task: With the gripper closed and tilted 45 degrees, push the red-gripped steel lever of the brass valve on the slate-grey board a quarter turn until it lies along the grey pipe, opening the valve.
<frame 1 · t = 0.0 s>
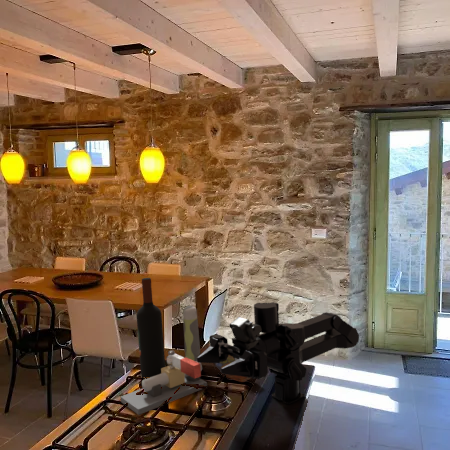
hand: (209, 365, 108), 17 cm above the countertop, tool horizontal, fingers open, 9 cm apart
lever: (182, 363, 128), point 10 cm above the countertop, hinge at 0.0°
tin: (234, 377, 140), on the countertop
wine bottle: (153, 374, 146), on the countertop
valve: (174, 390, 133), on the countertop
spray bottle: (193, 369, 148), on the countertop
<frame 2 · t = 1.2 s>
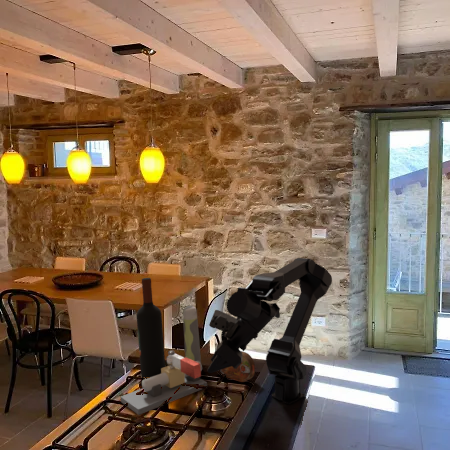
hand: (210, 366, 117), 13 cm above the countertop, tool tilted 45°, fingers open, 6 cm apart
nothing on the countertop moved.
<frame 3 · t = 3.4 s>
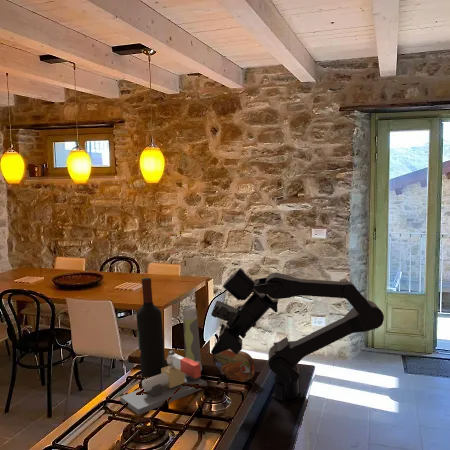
hand: (212, 353, 126), 13 cm above the countertop, tool tilted 45°, fingers closed
nothing on the countertop moved.
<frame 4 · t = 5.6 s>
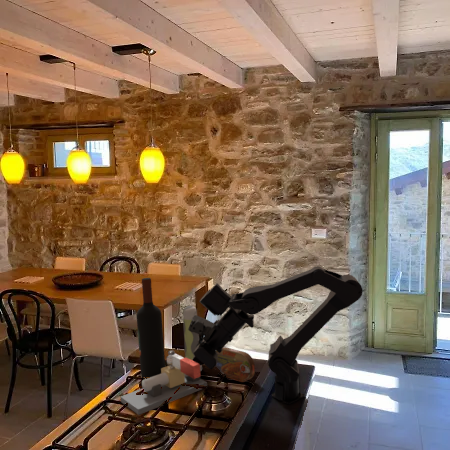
hand: (189, 367, 128), 9 cm above the countertop, tool tilted 45°, fingers closed
lever: (182, 363, 128), point 10 cm above the countertop, hinge at 0.7°, touching gripper
everything else where it was.
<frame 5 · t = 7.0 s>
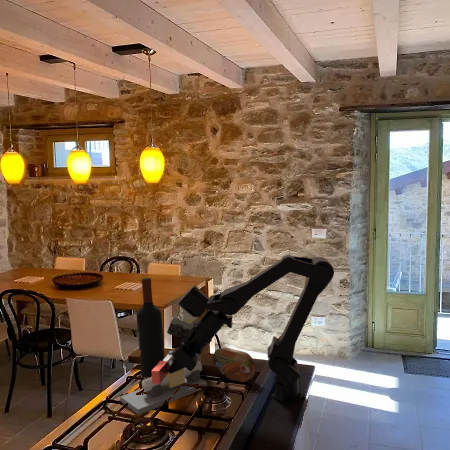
hand: (170, 370, 127), 8 cm above the countertop, tool tilted 45°, fingers closed on lever, 2 cm apart
lever: (164, 365, 127), point 10 cm above the countertop, hinge at 51.9°, touching gripper
everything else where it was.
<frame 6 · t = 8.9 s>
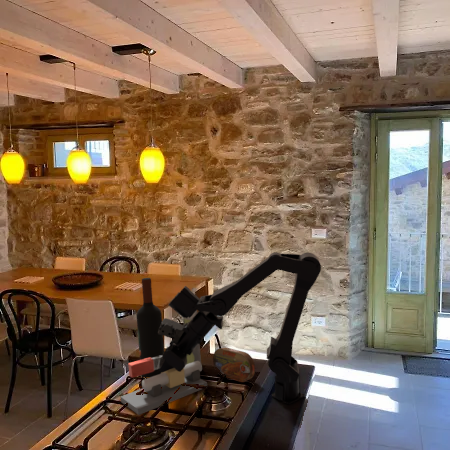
hand: (161, 370, 129), 8 cm above the countertop, tool tilted 45°, fingers closed
lever: (153, 363, 129), point 10 cm above the countertop, hinge at 95.4°, touching gripper
everything else where it was.
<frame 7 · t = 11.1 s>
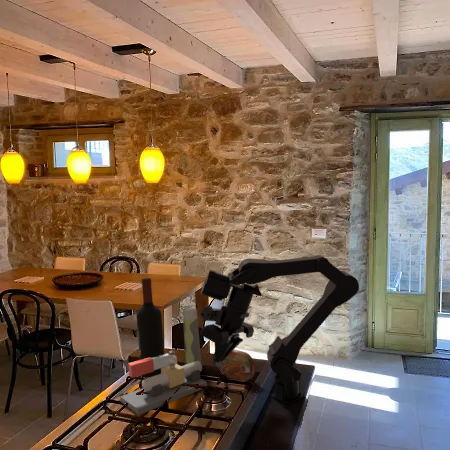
hand: (218, 361, 124), 11 cm above the countertop, tool tilted 20°, fingers closed
lever: (153, 363, 129), point 10 cm above the countertop, hinge at 95.4°
everything else where it was.
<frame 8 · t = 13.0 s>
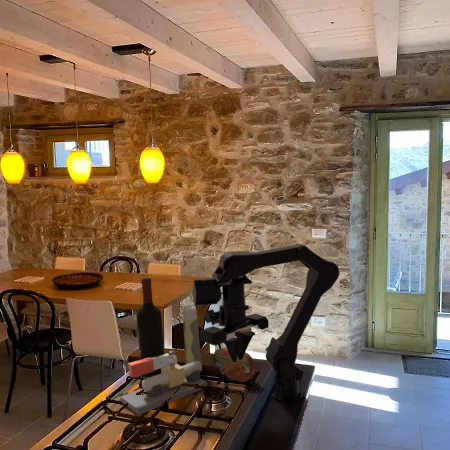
hand: (237, 360, 122), 12 cm above the countertop, tool pointing down, fingers closed
nothing on the countertop moved.
at the end: lever at +95° (first picture: +0°); the gripper is holding nothing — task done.
